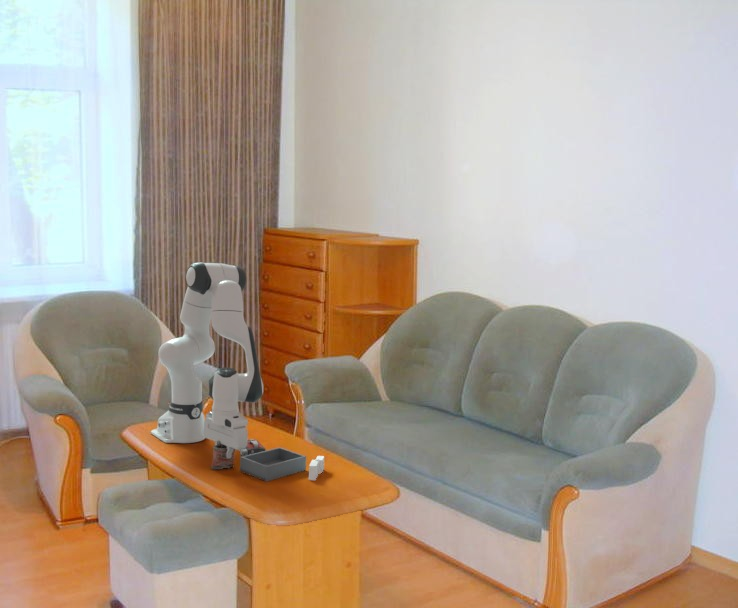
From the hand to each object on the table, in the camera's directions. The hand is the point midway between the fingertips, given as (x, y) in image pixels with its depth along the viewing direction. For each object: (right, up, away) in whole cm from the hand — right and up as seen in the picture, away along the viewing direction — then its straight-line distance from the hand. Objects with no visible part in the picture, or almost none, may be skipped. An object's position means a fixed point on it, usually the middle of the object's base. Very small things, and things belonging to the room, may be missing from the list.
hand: (224, 456), depth 303 cm
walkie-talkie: (+7, -3, +18) cm, 20 cm away
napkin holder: (+32, -7, -1) cm, 33 cm away
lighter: (-1, -4, +1) cm, 4 cm away
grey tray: (+17, -5, 0) cm, 17 cm away
